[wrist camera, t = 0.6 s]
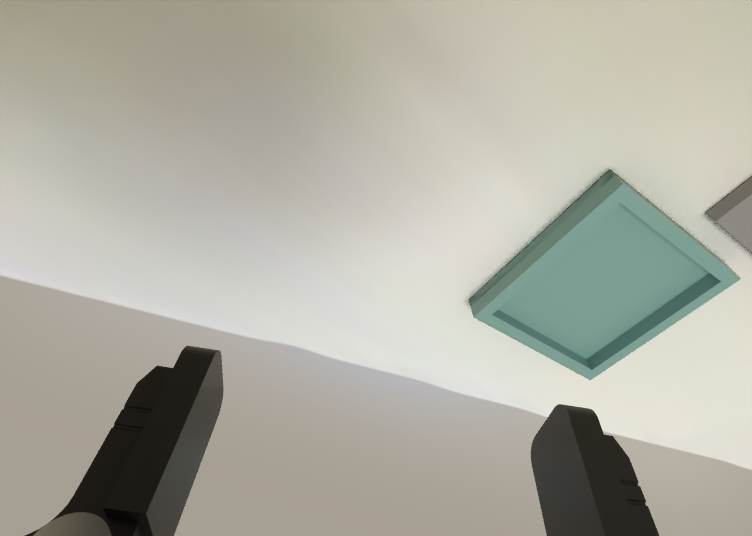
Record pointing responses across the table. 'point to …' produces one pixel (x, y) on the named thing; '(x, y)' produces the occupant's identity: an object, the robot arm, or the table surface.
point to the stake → (736, 214)
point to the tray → (601, 280)
